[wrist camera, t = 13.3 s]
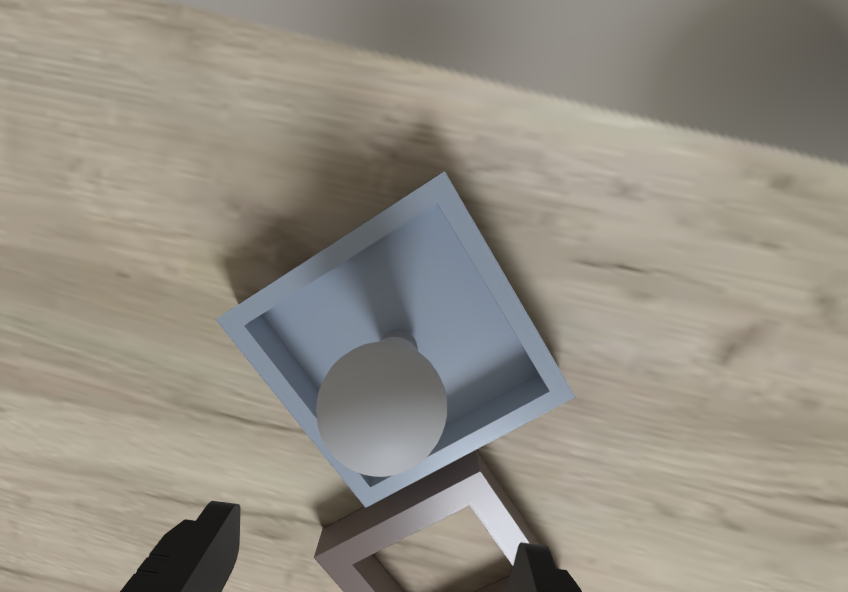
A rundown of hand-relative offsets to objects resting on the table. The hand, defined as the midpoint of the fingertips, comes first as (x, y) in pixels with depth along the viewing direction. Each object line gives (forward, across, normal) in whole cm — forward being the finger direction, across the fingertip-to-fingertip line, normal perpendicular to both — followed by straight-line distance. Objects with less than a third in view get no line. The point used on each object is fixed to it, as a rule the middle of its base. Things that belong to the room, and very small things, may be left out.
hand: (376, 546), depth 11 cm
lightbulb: (+16, 0, 0) cm, 16 cm away
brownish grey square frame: (+16, -5, +18) cm, 25 cm away
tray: (+16, 0, 0) cm, 16 cm away
